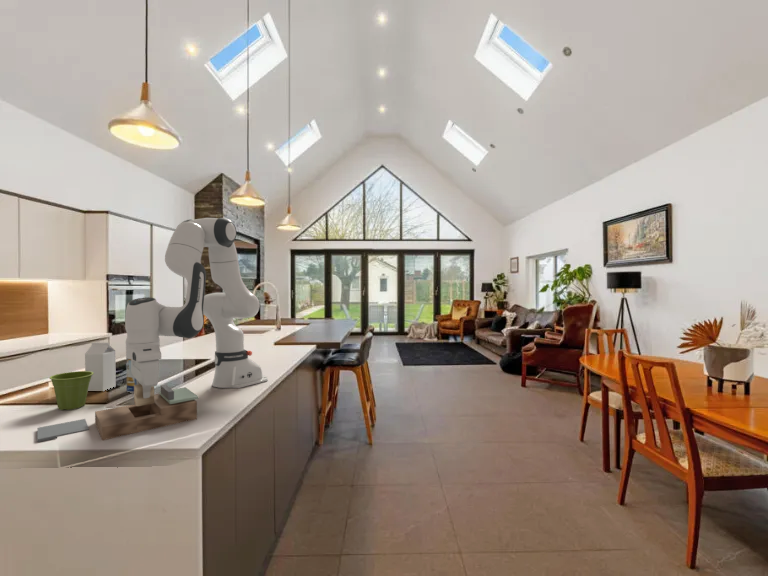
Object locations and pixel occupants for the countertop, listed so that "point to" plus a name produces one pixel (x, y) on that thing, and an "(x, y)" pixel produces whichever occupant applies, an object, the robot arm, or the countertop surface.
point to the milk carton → (101, 366)
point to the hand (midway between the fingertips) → (144, 395)
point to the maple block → (139, 398)
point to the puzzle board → (143, 417)
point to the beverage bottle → (130, 377)
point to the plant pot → (71, 389)
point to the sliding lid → (177, 394)
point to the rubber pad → (61, 429)
